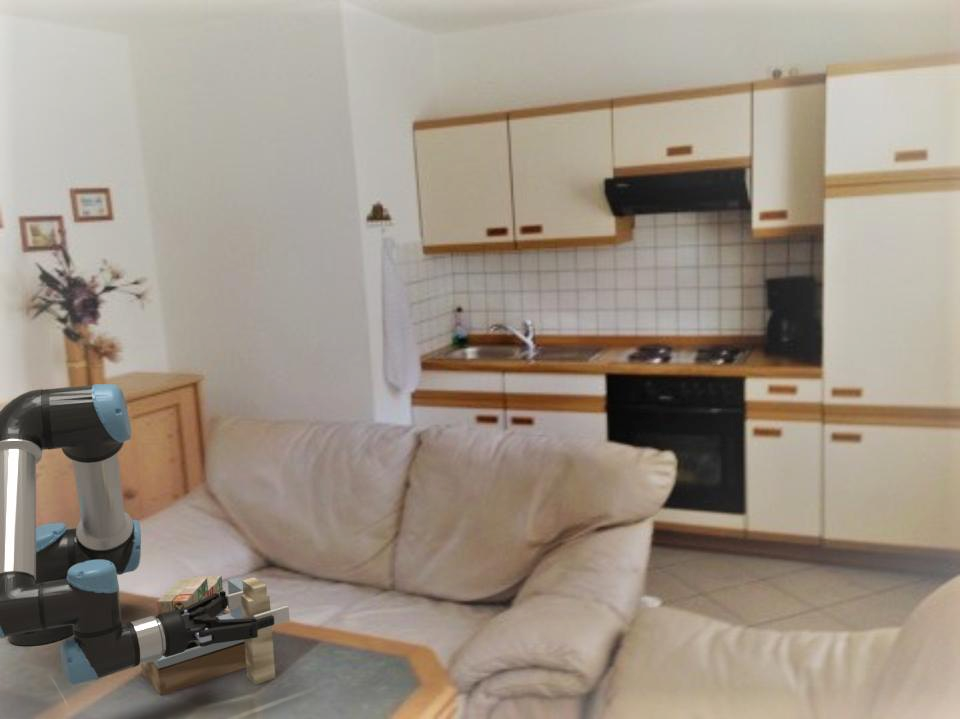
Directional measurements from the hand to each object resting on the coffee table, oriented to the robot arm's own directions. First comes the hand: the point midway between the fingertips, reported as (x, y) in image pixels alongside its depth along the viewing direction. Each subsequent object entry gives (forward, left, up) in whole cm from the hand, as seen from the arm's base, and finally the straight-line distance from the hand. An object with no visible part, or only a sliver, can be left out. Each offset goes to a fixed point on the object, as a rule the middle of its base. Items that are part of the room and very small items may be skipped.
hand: (274, 602), depth 162 cm
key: (0, -4, -14) cm, 15 cm away
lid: (-12, -11, -8) cm, 18 cm away
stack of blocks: (-30, -6, -15) cm, 34 cm away
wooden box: (-12, -11, -14) cm, 22 cm away
